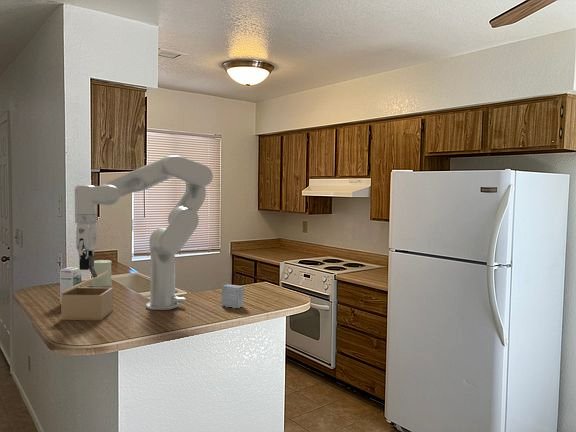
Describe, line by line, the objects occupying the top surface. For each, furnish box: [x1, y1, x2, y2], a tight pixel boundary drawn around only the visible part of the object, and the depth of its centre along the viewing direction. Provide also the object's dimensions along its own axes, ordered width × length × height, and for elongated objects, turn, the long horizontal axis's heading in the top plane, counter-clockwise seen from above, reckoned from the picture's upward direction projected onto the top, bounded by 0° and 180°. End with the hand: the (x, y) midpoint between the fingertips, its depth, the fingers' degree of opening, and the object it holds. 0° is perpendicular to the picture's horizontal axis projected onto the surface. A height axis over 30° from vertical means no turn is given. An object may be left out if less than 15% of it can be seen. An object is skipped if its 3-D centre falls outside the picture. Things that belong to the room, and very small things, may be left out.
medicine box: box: [221, 283, 245, 309], centre depth 194 cm, size 8×4×9 cm, turn 65°
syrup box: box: [59, 266, 82, 304], centre depth 191 cm, size 6×6×14 cm
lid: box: [61, 255, 109, 295], centre depth 175 cm, size 14×13×9 cm
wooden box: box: [60, 286, 114, 321], centre depth 176 cm, size 14×13×9 cm
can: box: [90, 259, 113, 288], centre depth 228 cm, size 9×9×12 cm
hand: (86, 267), depth 175 cm, fingers closed on lid, 4 cm apart
